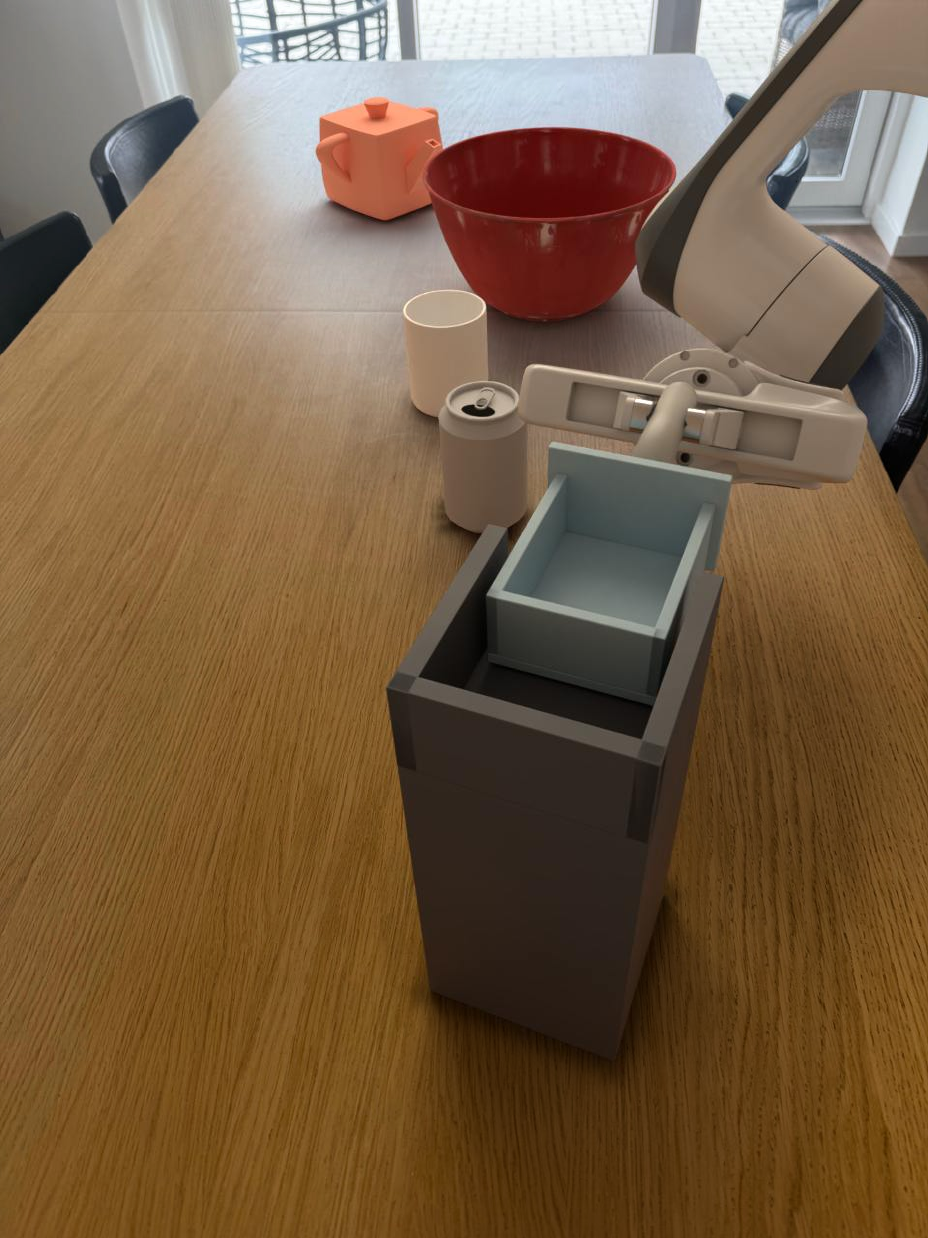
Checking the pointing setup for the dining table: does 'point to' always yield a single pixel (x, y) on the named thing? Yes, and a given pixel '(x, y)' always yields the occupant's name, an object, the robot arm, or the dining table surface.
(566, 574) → the tray
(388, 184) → the teapot
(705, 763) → the dining table surface
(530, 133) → the mixing bowl
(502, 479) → the can
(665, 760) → the box
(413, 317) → the mug
